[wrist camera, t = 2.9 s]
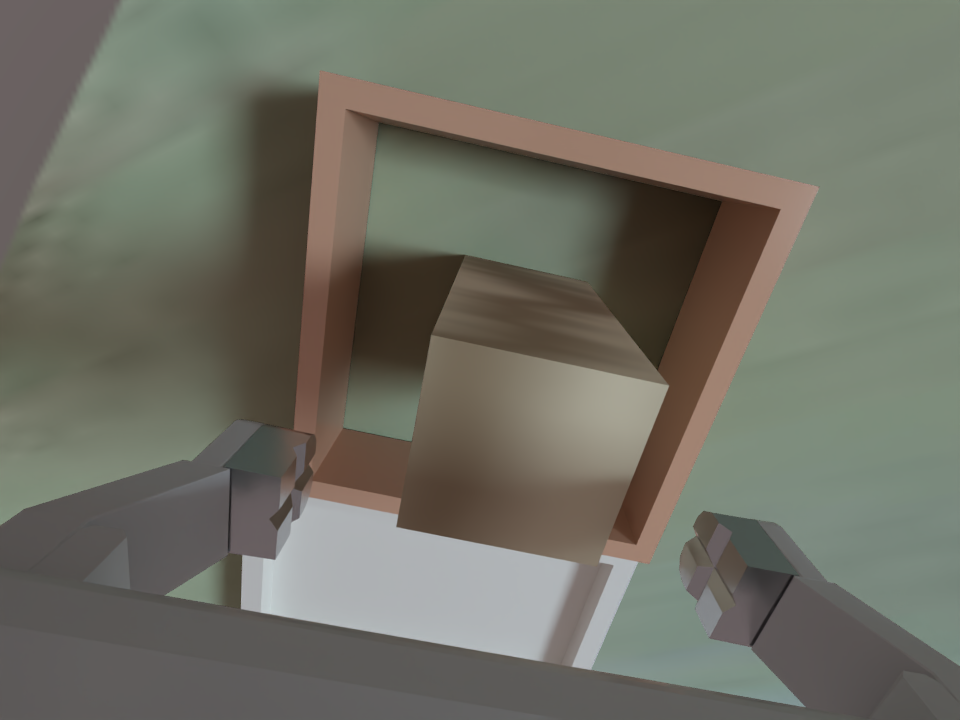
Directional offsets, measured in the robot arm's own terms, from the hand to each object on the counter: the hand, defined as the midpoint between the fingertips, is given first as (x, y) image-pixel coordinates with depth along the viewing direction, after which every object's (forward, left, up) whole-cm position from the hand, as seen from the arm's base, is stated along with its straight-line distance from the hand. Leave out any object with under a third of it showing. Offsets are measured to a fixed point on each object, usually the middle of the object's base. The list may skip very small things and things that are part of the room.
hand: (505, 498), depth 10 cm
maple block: (0, 0, -11) cm, 11 cm away
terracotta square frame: (0, 0, -11) cm, 11 cm away
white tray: (+1, +14, -11) cm, 17 cm away
